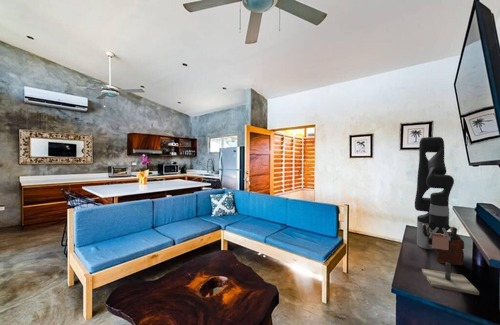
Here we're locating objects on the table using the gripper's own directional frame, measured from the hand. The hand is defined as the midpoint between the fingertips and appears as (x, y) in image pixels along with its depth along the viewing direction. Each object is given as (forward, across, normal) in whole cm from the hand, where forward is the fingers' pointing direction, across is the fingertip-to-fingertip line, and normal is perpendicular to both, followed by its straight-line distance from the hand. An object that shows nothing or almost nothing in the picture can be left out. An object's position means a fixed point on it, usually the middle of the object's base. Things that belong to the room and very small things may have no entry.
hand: (438, 245), depth 109 cm
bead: (+1, 0, 0) cm, 1 cm away
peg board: (+16, -3, +4) cm, 17 cm away
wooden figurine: (+16, -11, -19) cm, 27 cm away
